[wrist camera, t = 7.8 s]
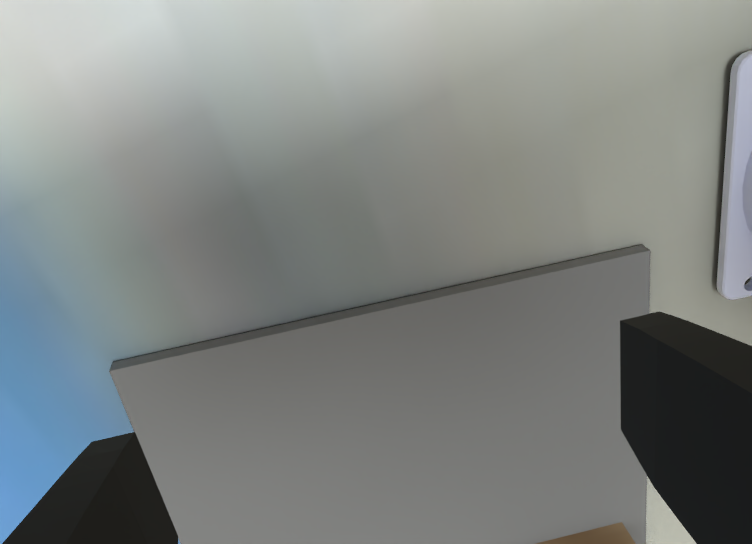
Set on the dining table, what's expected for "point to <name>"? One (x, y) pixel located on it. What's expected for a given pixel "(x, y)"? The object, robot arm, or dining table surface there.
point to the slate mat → (405, 417)
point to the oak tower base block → (597, 536)
